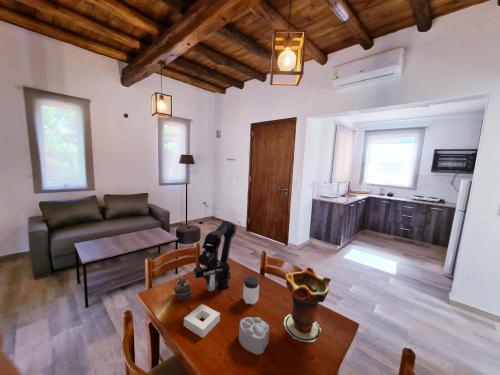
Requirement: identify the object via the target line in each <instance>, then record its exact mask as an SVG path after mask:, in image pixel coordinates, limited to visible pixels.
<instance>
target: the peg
mask: <svg viewBox="0 0 500 375" xmlns="http://www.w3.org/2000/svg"><path fill="white" fill-rule="evenodd" d="M215 275H216V272H215V271H211V272H208V276H209V283H208V286H207V285H206V286H207V288H206V289H207V290H208V292H213V291H215V289H216V284H215Z"/></svg>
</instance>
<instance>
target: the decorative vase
mask: <svg viewBox="0 0 500 375" xmlns="http://www.w3.org/2000/svg"><path fill="white" fill-rule="evenodd" d="M331 280H332V279H331V278H330V277H321V276H320V275H318V274H317V273H316V272H315V270H314V268H312V267H311V266H307V267H306V268H305V269H304V270H303V271H296V272H288V273H286V274H285V286H286V288H287V291H288V294H290V295H291V311H290V314H288V315H287V316H285V317H284V320H283V325H284V327H285V330H286V332H287V333H289V335H290V336H291V337H292V339H294V340H298V341H300V342H304V343H306V342H307V343H312V342H313V343H314V342H315V341H317V337H318V336H320V334H321V333H322V328H321V327H320V324H319V322H318V320H317V317H316V315H317V311H318V305H319V304H320V303H324V302H325V300H326V299H327V296H328V293H329V291H330V286H329V284H330V282H331Z"/></svg>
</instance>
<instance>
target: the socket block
mask: <svg viewBox="0 0 500 375" xmlns="http://www.w3.org/2000/svg"><path fill="white" fill-rule="evenodd" d="M200 319H204V320H203V321H202V320H200ZM219 322H221V312H219V311H217V310H214V309H212V307H211V308H210V307H209V306H207V305H205V304H203V303H201V304H200V305H198V306H197V307H196V308H195V309H194V310H192V311H191V312H190V313H189V314H187V315H186V316H185V317H184V318H183V327H184V326H185V328H186V329H188V330H189V331H190V332H192V333H194V334H196V335H197V336H199V338H202V339H204V338H205V337H206V335H207V334H208V333H210V332H211V331H212V329H214V327H216V325H217V324H218V323H219Z"/></svg>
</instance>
